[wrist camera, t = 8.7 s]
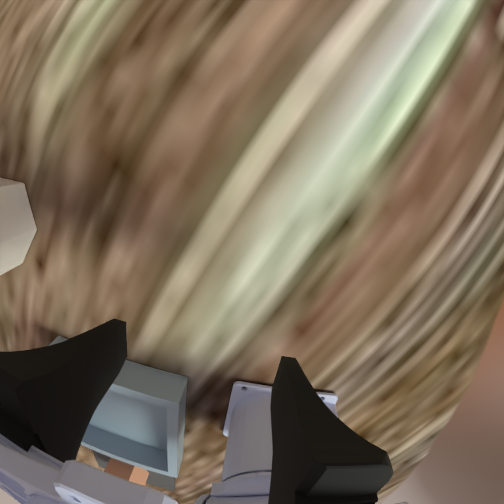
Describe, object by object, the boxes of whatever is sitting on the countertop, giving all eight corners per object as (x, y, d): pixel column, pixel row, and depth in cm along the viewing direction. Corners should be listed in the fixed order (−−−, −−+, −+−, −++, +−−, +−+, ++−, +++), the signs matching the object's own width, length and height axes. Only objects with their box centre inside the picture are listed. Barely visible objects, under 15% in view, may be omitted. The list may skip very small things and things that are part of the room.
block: (137, 458, 29) (123, 492, 23) (149, 473, 30) (137, 506, 24) (112, 453, 29) (97, 485, 24) (124, 468, 30) (111, 499, 25)
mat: (174, 457, 29) (173, 460, 28) (175, 488, 32) (174, 491, 31) (87, 428, 29) (86, 430, 28) (100, 463, 32) (99, 466, 31)
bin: (188, 376, 24) (178, 403, 21) (182, 456, 28) (176, 478, 25) (58, 335, 24) (40, 353, 21) (79, 421, 28) (68, 438, 25)
